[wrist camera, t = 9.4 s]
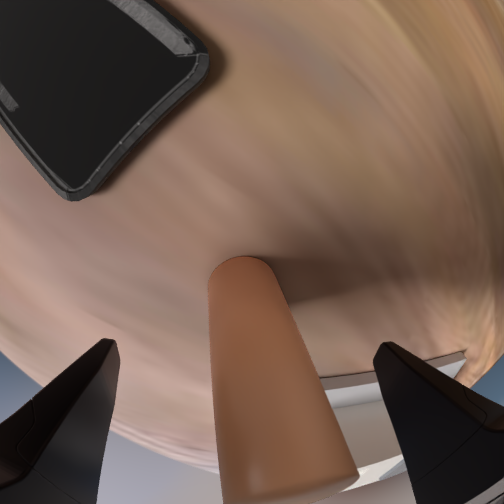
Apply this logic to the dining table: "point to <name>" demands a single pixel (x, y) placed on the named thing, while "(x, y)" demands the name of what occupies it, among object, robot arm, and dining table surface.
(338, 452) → the orange-brown tapered capsule
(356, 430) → the white socket block
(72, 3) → the phone
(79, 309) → the dining table surface
